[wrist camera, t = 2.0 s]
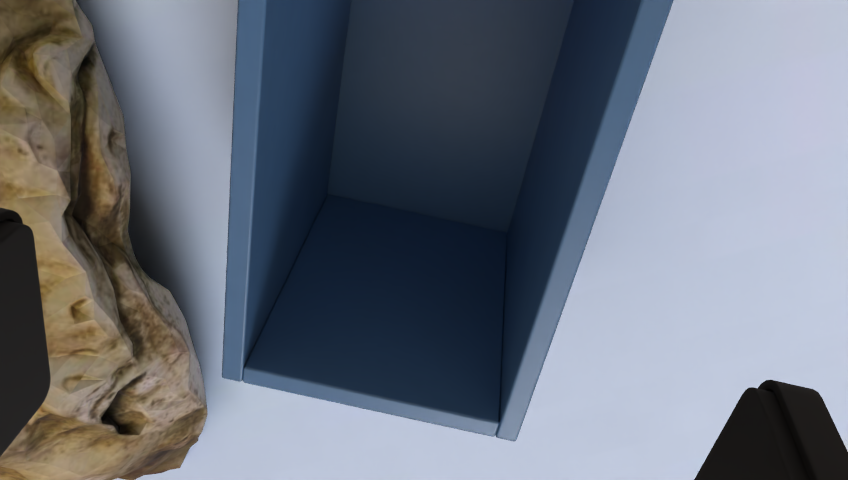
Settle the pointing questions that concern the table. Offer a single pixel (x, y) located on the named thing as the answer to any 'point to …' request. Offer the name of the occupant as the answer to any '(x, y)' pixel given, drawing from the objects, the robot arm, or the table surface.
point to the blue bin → (420, 193)
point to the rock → (87, 265)
